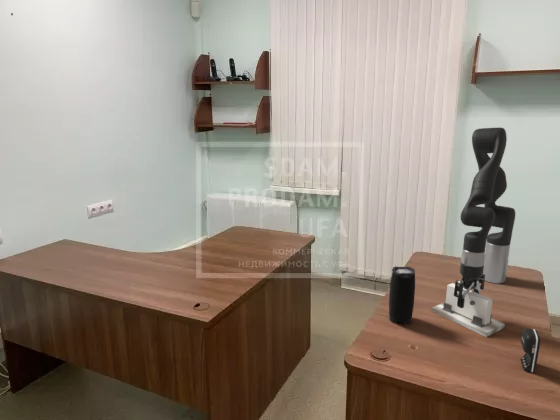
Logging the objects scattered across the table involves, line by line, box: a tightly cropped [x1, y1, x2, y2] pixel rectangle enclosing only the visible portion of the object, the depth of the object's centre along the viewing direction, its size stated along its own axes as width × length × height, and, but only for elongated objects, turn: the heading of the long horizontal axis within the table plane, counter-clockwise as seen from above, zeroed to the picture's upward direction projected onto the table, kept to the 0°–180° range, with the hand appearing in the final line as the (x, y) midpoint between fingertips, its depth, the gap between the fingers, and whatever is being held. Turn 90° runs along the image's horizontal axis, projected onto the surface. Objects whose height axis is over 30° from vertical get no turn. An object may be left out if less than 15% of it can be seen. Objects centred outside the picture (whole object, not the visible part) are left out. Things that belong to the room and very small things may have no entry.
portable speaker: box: [388, 265, 416, 325], centre depth 154 cm, size 9×9×20 cm
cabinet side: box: [431, 301, 506, 338], centre depth 156 cm, size 11×22×4 cm, turn 33°
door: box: [445, 282, 494, 325], centre depth 155 cm, size 4×16×9 cm, turn 33°
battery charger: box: [520, 327, 541, 374], centre depth 128 cm, size 7×4×11 cm, turn 160°
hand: (467, 304), depth 155 cm, fingers open, 8 cm apart
